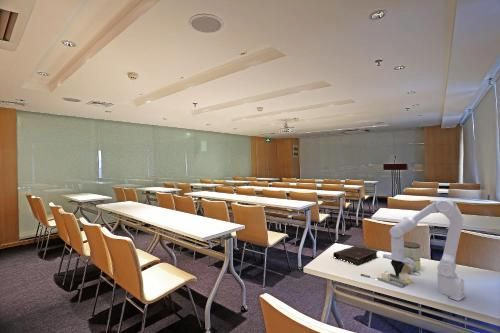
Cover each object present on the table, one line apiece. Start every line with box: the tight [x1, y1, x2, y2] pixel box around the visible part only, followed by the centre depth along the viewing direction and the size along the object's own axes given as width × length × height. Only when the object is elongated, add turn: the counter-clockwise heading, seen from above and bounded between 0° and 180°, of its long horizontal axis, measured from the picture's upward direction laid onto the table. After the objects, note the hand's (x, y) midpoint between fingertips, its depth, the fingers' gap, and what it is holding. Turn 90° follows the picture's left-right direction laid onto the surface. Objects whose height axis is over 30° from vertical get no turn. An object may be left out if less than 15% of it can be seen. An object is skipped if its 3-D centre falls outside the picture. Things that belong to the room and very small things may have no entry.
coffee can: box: [404, 241, 422, 272], centre depth 152 cm, size 10×10×14 cm
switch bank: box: [377, 272, 413, 289], centre depth 132 cm, size 12×11×2 cm
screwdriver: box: [360, 273, 379, 281], centre depth 136 cm, size 10×2×2 cm, turn 45°
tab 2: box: [399, 272, 409, 281], centre depth 131 cm, size 3×3×5 cm
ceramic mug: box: [401, 258, 421, 276], centre depth 143 cm, size 11×8×8 cm
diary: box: [333, 245, 379, 266], centre depth 171 cm, size 19×25×5 cm
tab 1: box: [380, 270, 391, 281], centre depth 133 cm, size 3×3×5 cm
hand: (398, 275), depth 133 cm, fingers closed
